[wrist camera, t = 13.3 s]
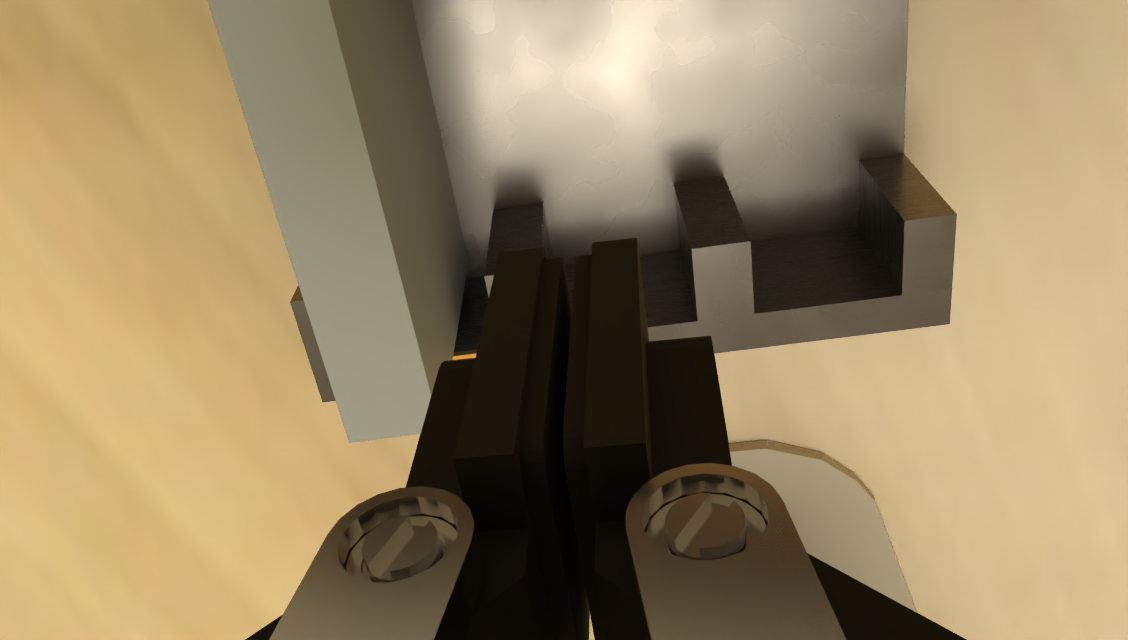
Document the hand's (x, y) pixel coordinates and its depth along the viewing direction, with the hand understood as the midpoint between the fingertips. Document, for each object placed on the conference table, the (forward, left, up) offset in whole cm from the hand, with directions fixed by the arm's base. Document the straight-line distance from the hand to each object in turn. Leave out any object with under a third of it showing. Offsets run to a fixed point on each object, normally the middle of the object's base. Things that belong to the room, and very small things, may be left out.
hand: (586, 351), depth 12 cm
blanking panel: (+5, 0, -15) cm, 15 cm away
